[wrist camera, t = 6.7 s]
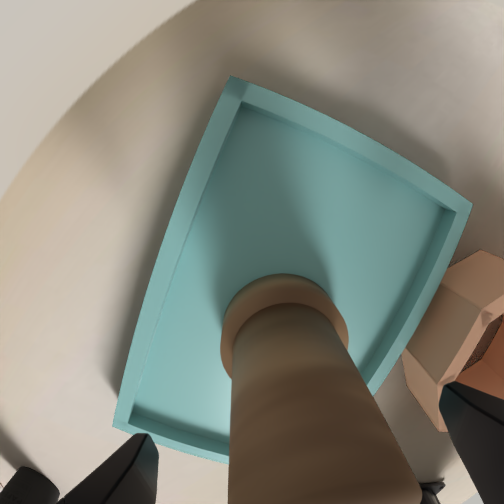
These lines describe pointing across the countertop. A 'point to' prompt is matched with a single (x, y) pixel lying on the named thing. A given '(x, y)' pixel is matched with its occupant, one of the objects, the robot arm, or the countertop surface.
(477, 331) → the mortar
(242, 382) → the pestle
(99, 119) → the countertop surface
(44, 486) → the drinking cup
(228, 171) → the tray
